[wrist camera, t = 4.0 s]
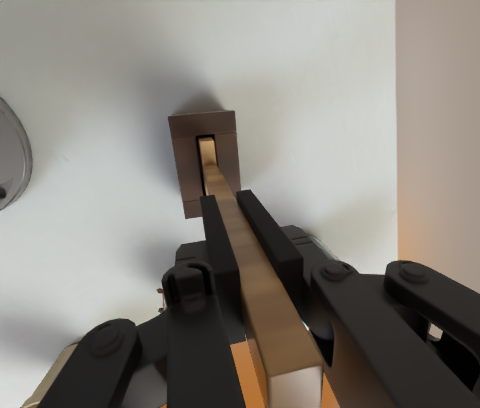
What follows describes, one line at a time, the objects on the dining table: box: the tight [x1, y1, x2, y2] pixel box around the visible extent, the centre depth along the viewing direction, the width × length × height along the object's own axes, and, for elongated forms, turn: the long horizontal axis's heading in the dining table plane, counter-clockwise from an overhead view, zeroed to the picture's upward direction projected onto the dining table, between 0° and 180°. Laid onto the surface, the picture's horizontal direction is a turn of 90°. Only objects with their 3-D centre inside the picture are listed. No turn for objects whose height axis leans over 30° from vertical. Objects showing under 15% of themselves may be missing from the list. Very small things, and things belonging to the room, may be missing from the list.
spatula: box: [197, 135, 324, 408], centre depth 17 cm, size 6×1×26 cm, turn 5°
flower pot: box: [20, 344, 78, 408], centre depth 33 cm, size 9×9×9 cm
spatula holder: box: [168, 110, 241, 219], centre depth 27 cm, size 10×6×6 cm, turn 5°
